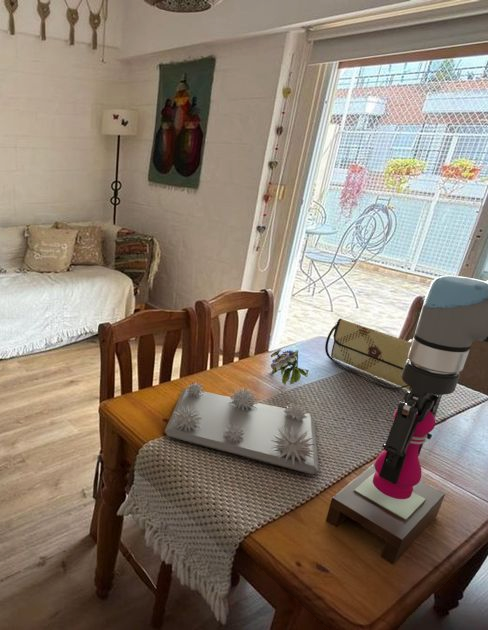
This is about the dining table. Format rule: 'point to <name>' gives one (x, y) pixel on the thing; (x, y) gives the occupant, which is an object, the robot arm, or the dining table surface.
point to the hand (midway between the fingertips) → (397, 471)
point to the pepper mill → (405, 463)
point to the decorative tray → (246, 428)
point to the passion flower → (283, 362)
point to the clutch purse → (369, 352)
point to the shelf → (386, 512)
